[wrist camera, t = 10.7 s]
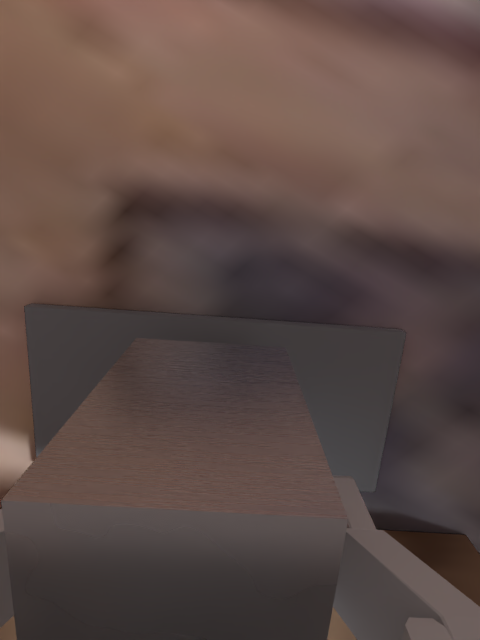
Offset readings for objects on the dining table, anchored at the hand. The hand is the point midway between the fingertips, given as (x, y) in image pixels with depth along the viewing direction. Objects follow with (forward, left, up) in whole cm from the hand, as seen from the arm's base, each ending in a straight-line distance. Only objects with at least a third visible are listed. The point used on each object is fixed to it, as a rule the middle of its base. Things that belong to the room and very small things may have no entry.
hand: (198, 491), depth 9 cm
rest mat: (0, 0, -4) cm, 4 cm away
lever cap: (0, 0, -2) cm, 2 cm away
